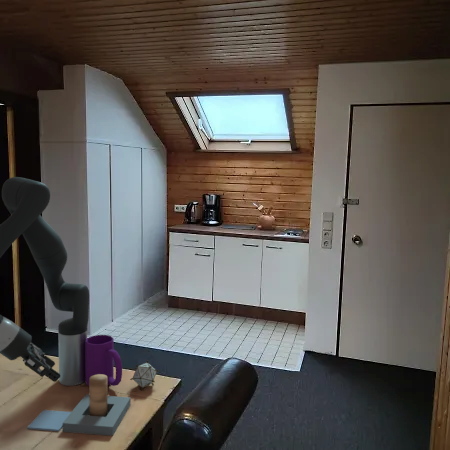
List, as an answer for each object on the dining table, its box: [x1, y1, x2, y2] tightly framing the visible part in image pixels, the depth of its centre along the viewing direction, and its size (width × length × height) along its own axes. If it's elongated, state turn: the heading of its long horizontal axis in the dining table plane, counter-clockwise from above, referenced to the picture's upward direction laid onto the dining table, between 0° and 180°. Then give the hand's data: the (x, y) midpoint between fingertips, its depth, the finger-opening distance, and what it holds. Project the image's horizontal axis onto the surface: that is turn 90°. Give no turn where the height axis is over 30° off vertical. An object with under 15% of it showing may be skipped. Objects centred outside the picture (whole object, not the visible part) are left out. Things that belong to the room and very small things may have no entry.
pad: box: [27, 409, 72, 432], centre depth 125 cm, size 9×9×1 cm
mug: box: [85, 334, 123, 387], centre depth 146 cm, size 9×16×15 cm, turn 53°
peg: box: [88, 374, 108, 417], centre depth 127 cm, size 5×5×12 cm
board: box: [62, 394, 132, 436], centre depth 127 cm, size 16×14×2 cm
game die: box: [129, 359, 160, 391], centre depth 147 cm, size 9×8×10 cm
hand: (55, 372), depth 120 cm, fingers open, 8 cm apart
